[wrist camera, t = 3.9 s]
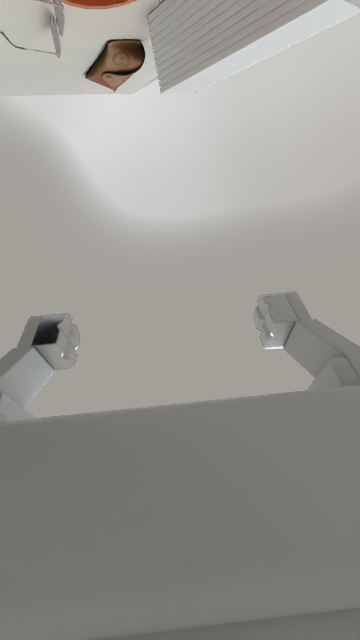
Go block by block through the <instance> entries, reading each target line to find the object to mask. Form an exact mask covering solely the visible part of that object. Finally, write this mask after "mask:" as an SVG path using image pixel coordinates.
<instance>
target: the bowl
mask: <svg viewBox="0 0 360 640" xmlns="http://www.w3.org/2000/svg"><path fill="white" fill-rule="evenodd" d="M59 1H61V2H63V3H65V4H67V5H70V6H75V7H80V8H84V9H108V8H113V7H118V6H123V5H126V4H128V3H131V2H134V1H136V0H59Z"/></svg>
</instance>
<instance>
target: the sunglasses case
mask: <svg viewBox="0 0 360 640" xmlns="http://www.w3.org/2000/svg"><path fill="white" fill-rule="evenodd" d="M144 60H145V51H144V47H143V45H142V43H141V42H140V41H138V40H137V41H136V40H116V41H112V42H109V43H108V44H107V46H106V48H105V50H104V52H103V53H102V54H101V56H100V57H99V58H98V60H97V61H96V62H95V63H94V64H93V66H92V67H91V69H90V70H89V71H88V73H87V75H86V76H85V78H87V79H89V80H91V81H94V82H96V83H98V84H101V85H103V86H105V87H108V88H110V89H112V90H113V91H114V92H115V91H116V89H117V88H118V87H119V86H120V85H122V84H123V83H124V82H125V81H126V80H127V79H128V78H129V77H130V76H131V75H132V74H133V73H135V72H137V71H138V70H139V69H140V68H141V67H142V65H143V63H144Z"/></svg>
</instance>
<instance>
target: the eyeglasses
mask: <svg viewBox="0 0 360 640" xmlns="http://www.w3.org/2000/svg"><path fill="white" fill-rule="evenodd" d="M34 1H38V2H42V3H46V4H50V5H54V10H55V15H56V22H55V19H54V15H53V14H51V31H52V36H53V40H54V45H55V49H56V53H52V52H46V51H39V50H32V49H26V48H22V47H17V46H15V45H13V44H12V43H11V42H10V41H9V39H8V38H7V37H6V36H5V34H4V33H3V32H2V31H1V32H0V33H2V34H3V35H4V36H5V38H6V39H7V40H8V41H9V42H10V43H11V44H12V45H13V46H14V47H16V48H20V49H26V50H32V51H38V52H43V53H49V54H55V55H57V56H58V58H59V57H60V54H61V43H60V38H59V35H61V37H62V36H63V34H64V26H65V20H64V13H63V11H64V7H63V5H62V4H61V1H59V0H53V3H52V2H48V1H43V0H34ZM55 23H57V24H58V29H59V34H58V31H57V27H56V26H57V25H56V24H55Z"/></svg>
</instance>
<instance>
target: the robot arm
mask: <svg viewBox="0 0 360 640" xmlns="http://www.w3.org/2000/svg"><path fill="white" fill-rule="evenodd" d="M257 303H258V305H259V306H257V307H256V308H255V311H254V321H255V325H256V329H258V330H259V331H260V332H261V333H260V336H259V337H260V340H261V342H262V345H263V348H264V349H271V348H283V349H284V350H285V351H286V352H287V353H288V354H290V355H291V356H292V357H293V358H294V359H295V360H296V361H297V362H298V363H299V364H300V365H301V366H303V367H304V368H305V369H306V370H307V371H308V372H309V373H310V374H311V375H312V376H313V377H315V380H314V381H313V382H312V383H311V385H310V386H309V387H308V390H306V391H297V392H287V393H277V394H267V395H258V396H248V397H238V398H228V399H218V400H208V401H198V402H189V403H179V404H169V405H160V406H150V407H140V408H131V409H120V410H112V411H101V412H92V413H81V414H73V415H63V416H52V417H43V418H35V416H34V414H33V413H31V412H30V411H28V410H27V409H26V407H27V406H28V404H29V403H30V402H31V401H32V400H33V398H34V397H35V396H36V395H37V393H38V392H39V390H40V389H41V388H42V387H43V386H44V384H45V383H46V382H47V381H48V379H49V378H50V377H51V376H52V374H53V373H54V372H55V370H60V369H68V368H74V367H75V363H76V357H77V353H76V352H75V350H76V349H77V347H78V346H79V343H80V333H79V330H78V327H77V326H76V325H74V324H73V323H72V318H71V316H70V314H67V313H66V314H52V315H41V316H31V317H30V318H29V319H28V321H27V324H26V326H25V329H24V331H23V333H22V336H21V338H20V341H19V343H18V346H17V348H15V349H12V350H11V351H10V352H8V353H7V354H6V355H5V356H4V357H3V358H1V359H0V640H360V347H359V346H358V345H356V344H354V343H353V342H351V341H350V340H348V339H347V338H345V337H343V336H342V335H340V334H339V333H337V332H335V331H334V330H332V329H330V328H329V327H327V326H326V325H324V324H322V323H321V322H319V321H318V320H316V319H314V320H312V318H311V316H310V315H309V313H308V311H307V309H306V307H305V306H304V304H303V302H302V301H301V299H300V297H299V295H298V294H297V293H296V292H295V291H294V292H285V293H275V294H266V295H260V296H259V297H258V300H257Z"/></svg>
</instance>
